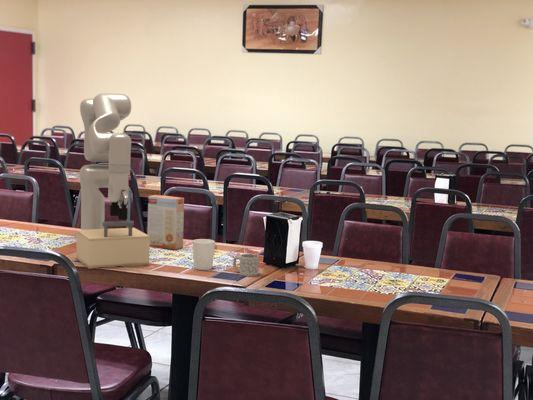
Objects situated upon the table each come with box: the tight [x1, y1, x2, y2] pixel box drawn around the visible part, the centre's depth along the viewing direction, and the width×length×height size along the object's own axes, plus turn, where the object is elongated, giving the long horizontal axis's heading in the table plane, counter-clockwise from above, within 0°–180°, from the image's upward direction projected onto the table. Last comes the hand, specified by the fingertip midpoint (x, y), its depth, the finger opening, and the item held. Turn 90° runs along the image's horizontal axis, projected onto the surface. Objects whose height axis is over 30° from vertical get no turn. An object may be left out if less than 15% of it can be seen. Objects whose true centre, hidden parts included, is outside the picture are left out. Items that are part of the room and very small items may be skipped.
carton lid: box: [76, 220, 150, 240], centre depth 279 cm, size 18×22×6 cm
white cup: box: [192, 238, 216, 271], centre depth 276 cm, size 8×8×10 cm
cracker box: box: [147, 194, 185, 251], centre depth 311 cm, size 14×6×21 cm, turn 63°
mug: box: [232, 253, 260, 277], centre depth 271 cm, size 10×7×7 cm
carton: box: [75, 231, 151, 270], centre depth 280 cm, size 18×22×10 cm
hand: (118, 217), depth 272 cm, fingers open, 9 cm apart
